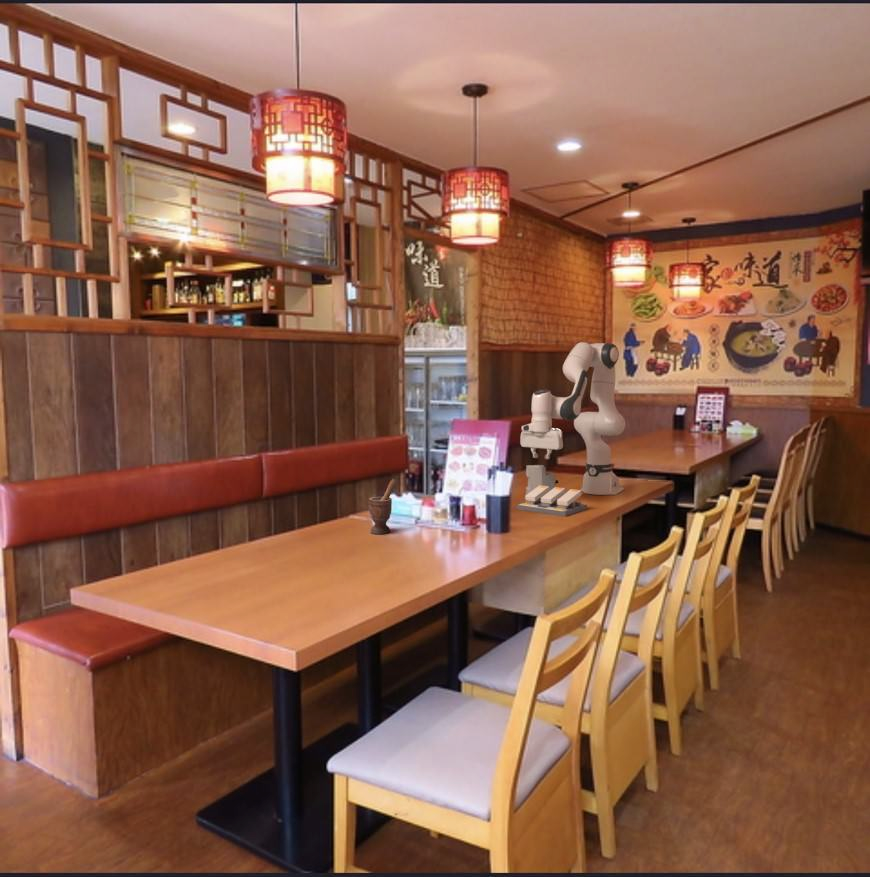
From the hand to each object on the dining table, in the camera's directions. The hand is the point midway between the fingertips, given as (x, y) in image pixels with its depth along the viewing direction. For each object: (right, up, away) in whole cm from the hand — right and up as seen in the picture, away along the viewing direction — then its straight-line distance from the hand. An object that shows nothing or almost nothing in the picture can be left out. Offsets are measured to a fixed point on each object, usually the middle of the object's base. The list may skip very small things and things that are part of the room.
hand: (541, 458), depth 323 cm
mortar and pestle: (-67, -27, -43) cm, 84 cm away
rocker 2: (+4, -16, -6) cm, 17 cm away
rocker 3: (+10, -16, -11) cm, 22 cm away
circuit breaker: (+3, -19, +20) cm, 28 cm away
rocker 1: (-2, -15, -1) cm, 15 cm away
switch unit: (+4, -22, -6) cm, 23 cm away
